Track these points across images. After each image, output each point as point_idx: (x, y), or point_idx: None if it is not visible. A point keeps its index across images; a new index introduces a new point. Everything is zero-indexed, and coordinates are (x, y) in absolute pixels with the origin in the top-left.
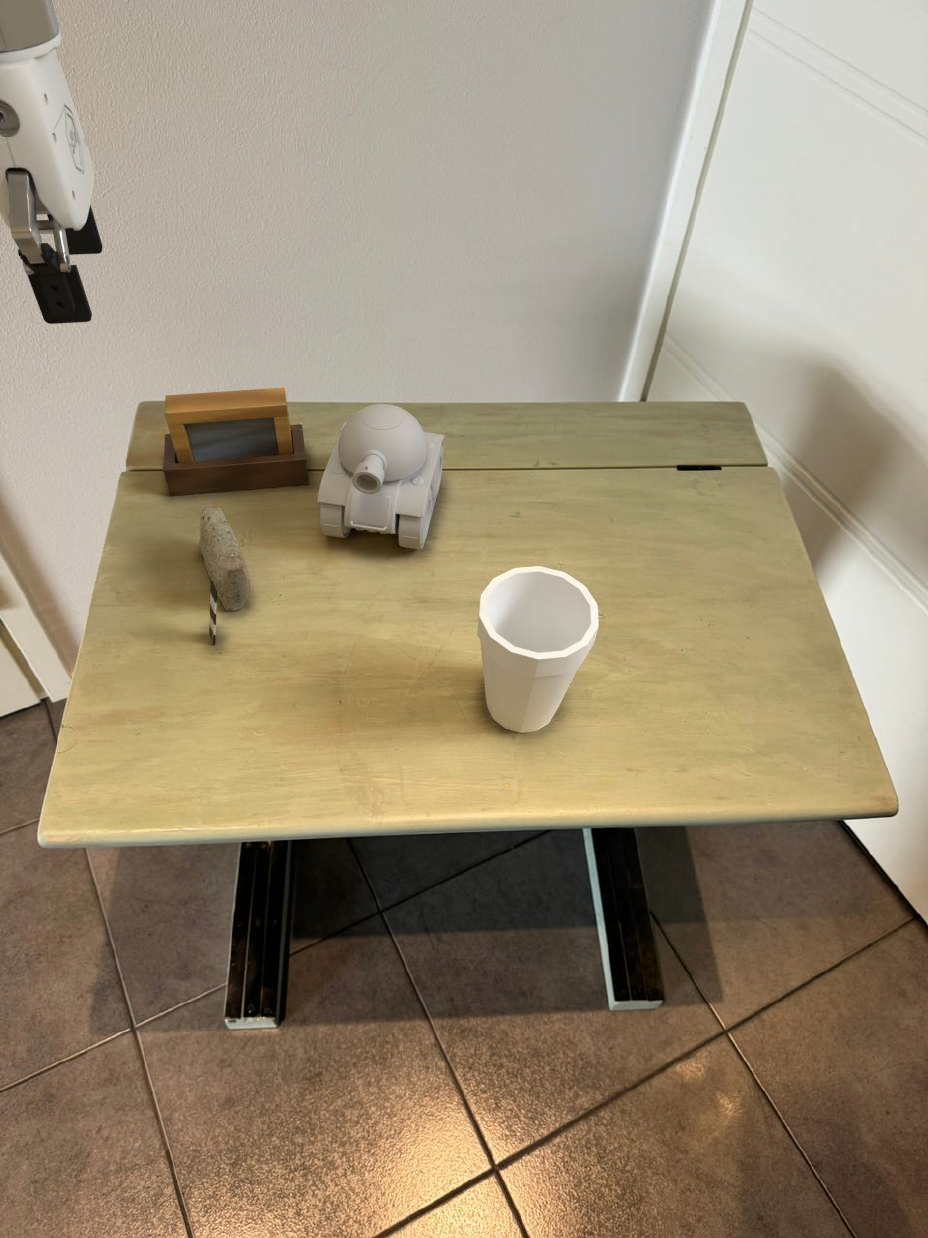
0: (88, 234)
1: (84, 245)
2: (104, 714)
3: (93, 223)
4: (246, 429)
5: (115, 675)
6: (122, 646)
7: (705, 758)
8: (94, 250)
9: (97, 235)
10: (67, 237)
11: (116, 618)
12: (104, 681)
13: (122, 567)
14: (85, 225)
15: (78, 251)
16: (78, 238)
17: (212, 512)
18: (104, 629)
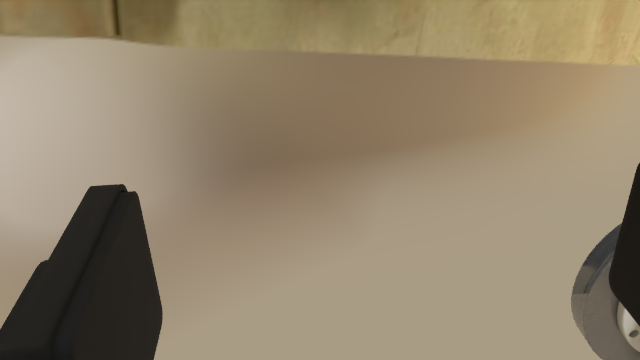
0: (122, 262)
1: (138, 257)
2: (602, 28)
3: (90, 263)
4: None
5: (545, 21)
6: (497, 17)
7: None
8: (138, 213)
9: (103, 223)
10: (142, 332)
11: (444, 31)
12: (550, 34)
13: (345, 34)
14: (109, 293)
15: (152, 268)
16: (135, 292)
17: None
18: (461, 45)
